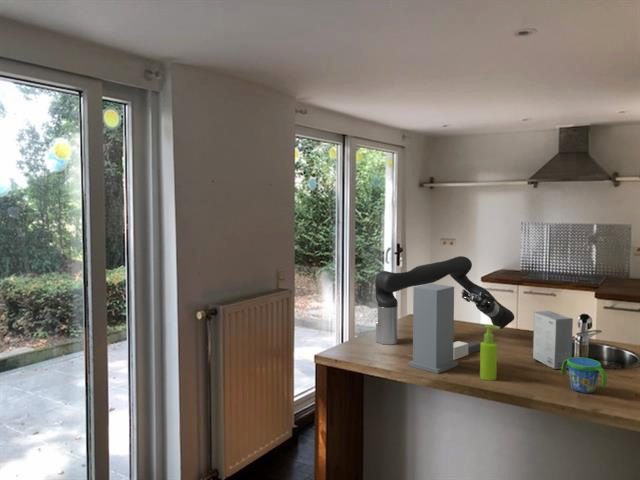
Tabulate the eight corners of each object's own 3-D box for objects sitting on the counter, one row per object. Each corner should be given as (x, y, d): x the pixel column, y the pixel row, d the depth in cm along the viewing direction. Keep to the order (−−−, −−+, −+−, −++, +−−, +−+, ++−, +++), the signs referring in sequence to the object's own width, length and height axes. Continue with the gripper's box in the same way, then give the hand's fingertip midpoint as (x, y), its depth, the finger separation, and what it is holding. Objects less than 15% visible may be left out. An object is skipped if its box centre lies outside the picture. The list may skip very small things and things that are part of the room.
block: (454, 359, 217) (454, 347, 217) (444, 356, 221) (444, 345, 221) (482, 349, 231) (482, 338, 231) (472, 347, 235) (472, 336, 234)
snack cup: (613, 395, 177) (614, 365, 177) (592, 400, 173) (593, 370, 172) (574, 380, 192) (575, 353, 191) (553, 385, 187) (554, 357, 186)
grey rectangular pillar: (437, 373, 200) (438, 291, 197) (408, 365, 210) (408, 287, 208) (457, 365, 210) (458, 286, 207) (428, 358, 220) (429, 282, 217)
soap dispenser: (497, 381, 191) (498, 328, 189) (478, 378, 195) (478, 325, 193) (500, 377, 196) (501, 324, 194) (482, 373, 200) (483, 322, 198)
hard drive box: (572, 368, 205) (573, 318, 203) (554, 370, 203) (555, 319, 202) (548, 356, 220) (550, 310, 218) (532, 358, 219) (533, 311, 217)
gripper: (475, 296, 244) (459, 282, 233) (504, 300, 233) (488, 286, 223) (471, 311, 242) (454, 298, 231) (500, 316, 231) (484, 302, 221)
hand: (471, 292), depth 227 cm, fingers open, 8 cm apart
